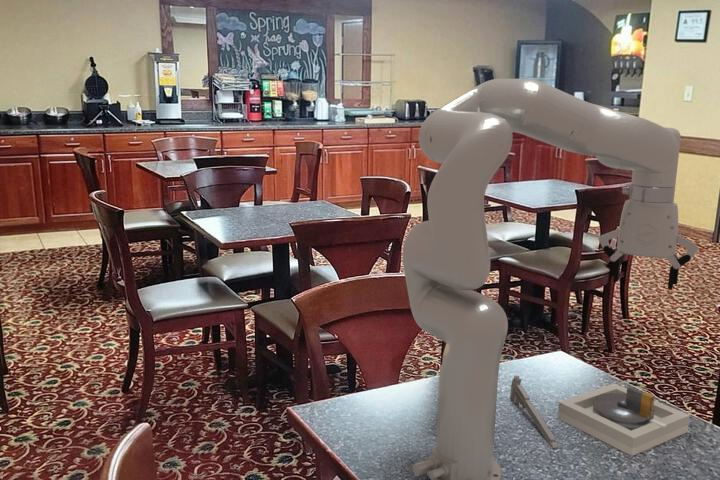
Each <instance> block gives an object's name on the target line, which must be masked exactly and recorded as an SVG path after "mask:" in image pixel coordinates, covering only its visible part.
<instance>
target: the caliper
mask: <svg viewBox="0 0 720 480" xmlns="http://www.w3.org/2000/svg"><path fill="white" fill-rule="evenodd" d="M521 383H522V379H521V378H520V375H514V377H513V378H512V380H511V385H510V397H509V399H510V401H513V405H515V406H516V405H520V406H521V407H522V409H525V410H526V411H527V413H528V414H529V416H530V417H531V420H533V422H534V423H535V425H536V427H537V429H538V430H539V432H540V433H541V435H542V436H543V438H544V439H545V441H546V443H547V444H549V445H550V446H551V448H552V449H559V445H558V444H557V442H556V441H557V439H556V437H555V436H554V435H553V432H551V430H550V428H549V427H548V425H547V423H546V422H545V421H544V419H543V417H542V416H541V414H540V413H539V411H538V410H537V409H536V407H535V405H534V404H533V402H532V401H531V397H530V396H529V394H528V392H527V391H526V389H525V388H524V386H523V385H522V384H521Z"/></svg>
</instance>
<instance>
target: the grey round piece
mask: <svg viewBox="0 0 720 480" xmlns="http://www.w3.org/2000/svg"><path fill="white" fill-rule="evenodd" d="M626 388H627V394H622V393H605V394H600V395H598V396H596V397H595V398H594V403H593V413H595V414H597V415H599V416H601V417H604V418H606V419H608V420H610V421H612V422H614V423H616V424H618V425H620V426H622V427H625V428H627V429H629V430H631V431H632V430H634V429H637V428H639V427H642V426H644V425H647V424H649V423H652V422H650V420H652V419H653V418H654V408H653V406H654V400H655V395H654V394H651V393H649V392H645V391H642V390H640V389H638V388H635V387H633V386H629V387H626Z"/></svg>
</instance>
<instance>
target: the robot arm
mask: <svg viewBox="0 0 720 480" xmlns="http://www.w3.org/2000/svg"><path fill="white" fill-rule="evenodd" d="M513 133H516V134H521V135H523V136H526V137H529V138H531V139H534V140H537V141H540V142H543V143H545V144H548V145H551V146H553V147H555V148H557V149H561V150H564V151H565V152H566V151H567V152H570V153H575V154H577V155H584V156H592V157H595V158H596V160H598V162H599V163H600V164H602V165H603V166H605V167H607V168H608V167H609V168H612V169H617V170H618V169H619V170H623V171H624V170H626V171H632V175H631V182H630V185H628V186H622V191H621V193H622V194H623V195H628V197H629V199H627V200H624V204H623V206H622V211H621V216H620V221H619V226H618V228H617V229H615V230H612V231H610V232H606V233H604V234H601V235H600V236H599V237H598V241H599V243H600V245H601V247H602V250H603V252H604V253H605V254H606V255H607V257H608V258H609V260H610V262H611V266H610V267H611V268H610V277H612V278H613V279H612V282H613V283H618V282H619V280H620V278H621V277H620V276H621V265H622V259H621V257H622V256H623V255H629V256H634V257H635V256H636V257H646V258H655V259H665V260H666V259H667V260H668V262H669V263H670V267H669V273H668V281H667V283H668V284H667V289H668V290H673V287H674V285H676V286H677V285H678V280H679V271H680V268H681V267H683V266H684V265H686V264H687V263H688V262H690V261H691V259H692V258H693V257H694V255H695V254H696V253H697V252H698V250H699V245H697V244H695V243H694V242H692V241H691V240H689V239H687V238H685V237H684V236H682V235H680V234H679V208H678V203H676V202H675V201H674V200H675V192H676V185H677V184H676V183H677V174H678V165H679V157H680V147H681V133H680V131H679V130H678V129H676V128H673V127H665V126H662V125H660V124H658V123H656V122H654V121H651V120H649V119H646V118H642V117H639V116H636V115H633V114H629V113H625V112H622V111H618V110H615V109H612V108H609V107H606V106H603V105H599V104H595V103H591V102H588V101H586V100H583V99H581V98H578V97H577V96H575V95H573V94H569V93H568V92H565V91H563V90H561V89H558V88H557V87H554V86H552V85H550V84H548V83H545V82H543V81H540V80H536V79H533V78H525V77H524V78H493V79H490V80H487V81H484V82H482V83H480V84H479V85H476V86H475V87H473V88H471V89H469V90H467V91H466V92H464V93H462V94H460V95H459V96H458V97H456V98H454V99H452V100H450V101H449V102H448V103H445V104H444V105H442V106H440V107H439V108H437V109H435V110H434V111H433V112H431V113H430V114H429V115H428V116H427V117H426V119H425V120H424V121H423V122H422V124H421V126H420V129H419V132H418V144H419V149H420V150H421V152H422V153H423V155H424V156H425V157H426V158H427V159H428V160H430V161H432V162H434V163H436V164H440V167H439V169H438V170H437V171H436V173H435V175H434V177H433V180H432V181H431V183H430V187H429V189H428V193H427V200H426V201H427V202H426V203H427V215H428V220H424V221H421V222H419V223H417V224H415V225H414V226H413V227H412V228H411V229H410V231H409V232H408V234H407V235H406V237H405V238H404V242H403V247H402V264H403V265H402V266H403V272H404V277H405V282H406V289H407V295H408V298H409V299H408V301H409V305H410V311H411V313H412V316H413V318H414V321H415V323H416V324H417V326H418V327H419V328H421V330H422V331H425V332H426V333H427V334H429V335H431V336H433V337H435V338H437V339H439V340H440V341H443V342H444V343H445V344H446V343H447V344H448V345H449V352H448V354H447V356H446V358H445V359H444V361H443V363H441V365H440V368H439V372H438V373H439V374H438V398H437V399H438V400H437V420H436V421H437V423H436V425H437V426H436V444H435V445H436V447H434V448H432V449H431V450H430V456H428V457H427V459H426V460H423V461H420V462H417V463H413V465H412V471H413V474H414V475H415V476H416V477H419V476H422V475H425V474H426V475H427V477H428V478H429V479H430V480H502V475H503V471H502V467H501V465H500V464H499V462H498V461H496V459H494V450H495V449H494V447H495V431H496V430H495V429H496V418H497V417H496V416H497V403H498V401H497V399H498V384H499V383H498V382H499V369H500V364H501V357H502V353H503V348H504V344H505V342H506V339H507V334H508V330H509V329H508V328H509V322H508V317H507V314H506V312H505V310H504V308H503V307H502V306H501V305H500V304H499V303H498V302H497V301H495V300H494V299H493V298H491V297H489V296H487V295H485V294H482V293H480V292H477V291H475V290H478V289H479V288H481V287H482V286H484V285H485V283H486V282H487V281H488V278H489V276H490V273H491V254H490V247H489V241H488V240H489V238H488V232H487V231H488V230H487V223H486V218H485V194H486V191H487V188H488V186H489V184H490V181H492V178H493V177H494V175H495V174H496V172H497V171H498V170H499V168H500V167H501V166H502V165H503V164H504V162H505V161H506V159H507V158H508V156H509V154H510V152H511V149H512V146H513V145H512V144H513V138H514V137H513V136H514V134H513ZM612 239H613V240H614V239H617V240H616V241H617V242H616V243H617V244H616V247H617V249H616V250H615V249H614V248H613V247H612V246H611V245H610V242H609V240H612ZM678 244H679V245H680V246H682V247H684V248H686V249H687V251H686V252H685V253H684V254H683V255H682V256H680V257H679V256H678V255H677V254H676V251H677V246H678Z"/></svg>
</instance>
